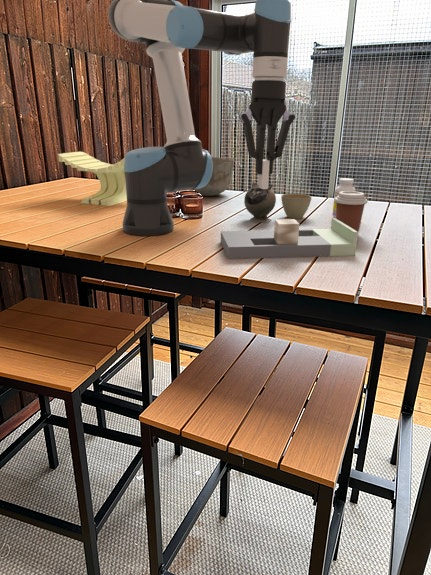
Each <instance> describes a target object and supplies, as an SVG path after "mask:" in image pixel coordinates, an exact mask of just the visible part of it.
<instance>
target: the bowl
mask: <svg viewBox="0 0 431 575" xmlns="http://www.w3.org/2000/svg"><path fill="white" fill-rule="evenodd" d="M211 157H212V161H213V171H212V176H211V178H210V181H209V182H208V184H207V185H206V186H205V187H203V188H200V189H195V191H197V192H199V193H200V194H202V195H201V196H203V197H204V196H205V197H212V196H216V195H220V194H222V193H224V192H225V191H226V190H227V189H228V188H229V187H230V185H231V182H232V179H233V169H234V164H235V158H225V157H215V156H211ZM200 194H199V195H200Z"/></svg>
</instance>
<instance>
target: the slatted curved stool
mask: <svg viewBox="0 0 431 575" xmlns="http://www.w3.org/2000/svg"><path fill="white" fill-rule="evenodd" d="M57 157H58V162H59V163H63V162H64V164H65V166H69V165H70V167H71V168H73V169H74V168H75V169H76V170H77V172H92V173H93V174H95V175H96V177H97V179H98V180H99V183H100V189H99V191H97V192H96V193H94V194H92V195H89V196H86V197H83V198H82V200H81V202H80V203H81V204H87V205H89V204H90V205H97V206H104V207H106V206H107V207H110V206H113V205H118V204H119V203H124V202H127V194H126V182H125V171H124V158H125V157H124V158H122V159H121V160H119V161H117V162H116V163H114V164H113V163H112V164H111V163H107V162H103V161H101V160H100V159H98V158H95V157H94V156H91V155H89V154H88V153H86V152H84V151H74V152H63V153H57Z"/></svg>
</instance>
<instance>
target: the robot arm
mask: <svg viewBox="0 0 431 575" xmlns="http://www.w3.org/2000/svg"><path fill="white" fill-rule="evenodd" d="M291 4H292V3H291V0H256V1H255V4H254V10H253V11H254V12H253V13H247V14H235V13H228V12H222V11H215V10H209V9H204V8H198V7H193V6H189V5H184V4H182V3H181V2H180V1H177V0H112V1H111V3H110V5H109V6H108V12H107V18H108V23H109V25H110V28H111V29H112V31H113V32H114V33H115V35H117V36H118V37H119V38H121V39H123V40H124V41H125V40H126V41H128V42H132V43H139V44H140V43H141V44H144V46H145V51H146V54H147V56H149V57H150V58H152V63H153V67H154V72H155V73H154V74H155V78H156V84H157V89H158V90H157V91H158V96H159V103H160V108H161V113H162V119H163V125H164V131H165V136H166V143H165V144H164V145H163V146H147V147H140V148H136V149H132V150H129V151H128V152H126V153H125V155H124V171H125V182H126V194H127V201H126V208H125V211H124V216H123V218H122V219H123V220H122V231H123V232H124V233H125V234H128V235H131V236H141V237H142V236H143V237H146V236H149V237H150V236H161V235H165V234H169V233H171V232H172V231H174V224H175V222H174V219H173V217H172V214H171V211H170V207H169V206H168V193H173V192H183V191H193V190H195V189H200V188H203V187H205V186H206V185H207V184H208V182H209V181H210V178H211V176H212V171H213V161H212V157H213V156H212V155H211V154H210V152H209V151H208V150H206V149H205V148H203V144H202V141H201V140H200V139H198V137H196V134H195V126H194V122H193V116H192V108H191V103H190V96H189V91H188V86H187V79H186V72H185V68H184V67H185V66H184V61H183V55H182V54H183V53H184V51H185V50H191V49H193V50H204V51H213V52H223V53H224V54H225V55H228V56H233V55H236V56H240V55H244V54H248V53H253V54H252V59H253V60H252V72H251V73H252V74H251V77H252V78H253V79H254V80H252V82H251V99H250V100H251V101H250V104H249V106H248V109H247V110H245V111H244V112H243V113H240V114H239V115H238V118H239V120H240V122H241V123H242V126H243V131H244V132H243V133H244V136H245V137H244V138H245V142H246V147H247V153H248V156H249V157H250V158H253V159H255V174H257V175H259V176H258V185H259V188H261V189H268V187H269V178H270V177H269V176H270V175H272V174H273V172H274V161H275V160H276V159H279V158H281V157H282V154H283V152H284V148H285V145H286V141H287V138H288V134H289V131H290V127H291V125H292V123H293V122H294V120H295V119H296V115H295V114H294V113H291V112H290V111H289V110H287V106H286V103H285V101H286V90H287V89H286V88H287V82H286V81H285V80H284V79H286V78H287V76H288V75H287V74H288V73H287V72H288V60H289V58H288V57H289V47H290V46H289V45H290V44H289V43H290V31H291V23H292V16H291V14H292V13H291V12H292V11H291V10H292V7H291V6H292V5H291ZM251 116H252V117H251ZM252 118H253V119H254V121H255V123H256V144H255V140H254V138H255V137H254V134H253V128H252V122H251V120H252ZM281 118H282V123H281V125H280V129H279V132H278V137H277V140H276V134H277V127H278V123H279V122H280V120H281ZM266 129H267V134H266ZM266 135H267V136H266ZM265 137H266V139H265ZM265 140H266V141H265ZM265 142H266V156H265ZM264 157H265V158H266V159H264Z"/></svg>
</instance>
